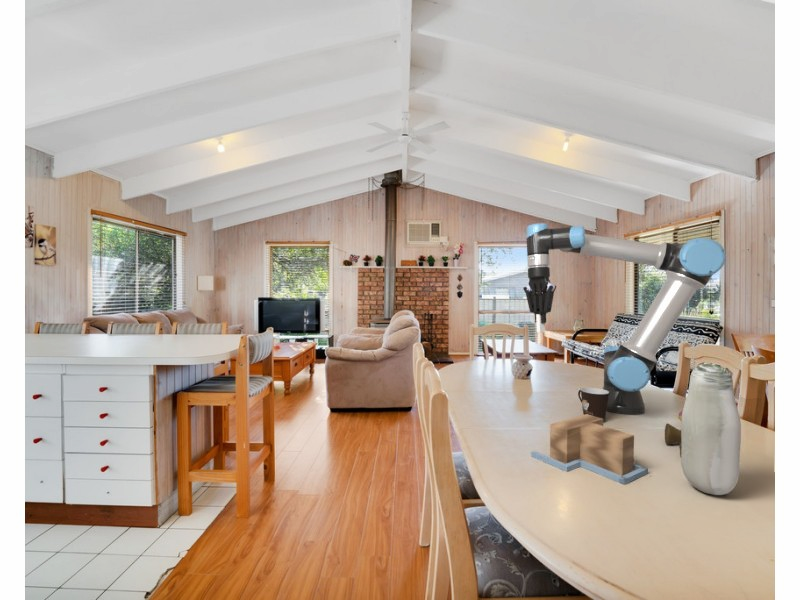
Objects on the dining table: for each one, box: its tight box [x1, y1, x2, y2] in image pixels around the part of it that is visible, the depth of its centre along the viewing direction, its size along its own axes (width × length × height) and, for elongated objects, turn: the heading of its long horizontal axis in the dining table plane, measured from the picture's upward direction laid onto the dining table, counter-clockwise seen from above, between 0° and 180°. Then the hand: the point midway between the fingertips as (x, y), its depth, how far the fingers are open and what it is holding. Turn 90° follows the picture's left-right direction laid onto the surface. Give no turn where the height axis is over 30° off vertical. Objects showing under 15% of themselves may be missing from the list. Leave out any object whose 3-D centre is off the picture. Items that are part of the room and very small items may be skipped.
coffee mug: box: [577, 387, 609, 424], centre depth 138 cm, size 12×9×10 cm
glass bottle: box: [680, 363, 742, 496], centre depth 89 cm, size 10×10×28 cm
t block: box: [549, 414, 635, 476], centre depth 104 cm, size 16×16×9 cm
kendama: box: [664, 423, 682, 458], centre depth 111 cm, size 6×10×20 cm
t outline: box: [530, 450, 649, 485], centre depth 104 cm, size 22×21×1 cm
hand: (541, 332), depth 147 cm, fingers closed
